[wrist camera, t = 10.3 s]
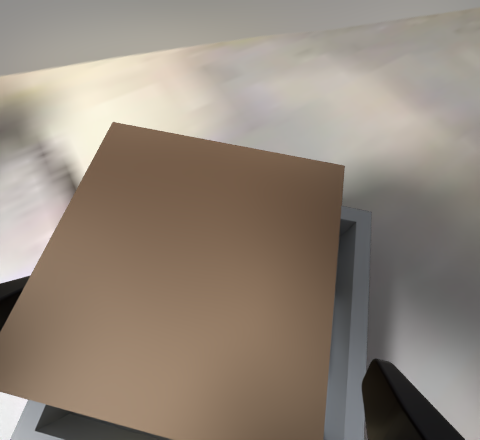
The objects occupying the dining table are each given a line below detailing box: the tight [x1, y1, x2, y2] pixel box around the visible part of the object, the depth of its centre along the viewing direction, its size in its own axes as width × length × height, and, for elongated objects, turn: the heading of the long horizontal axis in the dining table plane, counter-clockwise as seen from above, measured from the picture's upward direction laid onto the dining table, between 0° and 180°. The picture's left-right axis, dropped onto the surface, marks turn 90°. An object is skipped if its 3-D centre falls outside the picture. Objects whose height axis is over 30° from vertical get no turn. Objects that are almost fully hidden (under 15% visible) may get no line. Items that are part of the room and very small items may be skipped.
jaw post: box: [0, 122, 345, 440], centre depth 10 cm, size 4×4×12 cm
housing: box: [10, 206, 372, 440], centre depth 14 cm, size 14×14×4 cm
